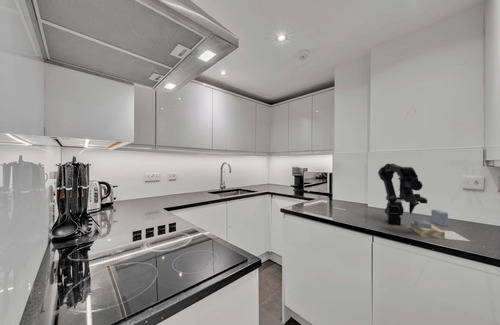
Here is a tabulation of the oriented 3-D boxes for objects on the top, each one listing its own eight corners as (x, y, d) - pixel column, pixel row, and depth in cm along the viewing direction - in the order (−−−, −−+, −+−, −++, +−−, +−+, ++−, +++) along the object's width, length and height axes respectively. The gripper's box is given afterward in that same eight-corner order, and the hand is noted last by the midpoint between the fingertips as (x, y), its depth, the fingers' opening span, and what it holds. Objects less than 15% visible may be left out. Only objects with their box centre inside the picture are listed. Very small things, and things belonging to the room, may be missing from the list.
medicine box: (448, 226, 122) (448, 212, 122) (440, 225, 123) (440, 212, 123) (438, 222, 130) (438, 209, 130) (431, 221, 131) (431, 209, 131)
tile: (418, 227, 111) (418, 223, 110) (413, 223, 116) (413, 219, 116) (431, 228, 108) (431, 224, 108) (425, 224, 114) (425, 220, 114)
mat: (445, 239, 103) (445, 238, 103) (431, 230, 116) (431, 229, 116) (470, 241, 100) (470, 241, 100) (453, 232, 113) (453, 231, 113)
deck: (421, 236, 107) (421, 229, 107) (410, 228, 120) (410, 221, 120) (444, 239, 103) (444, 231, 103) (430, 229, 116) (430, 223, 116)
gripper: (391, 189, 110) (392, 215, 111) (432, 190, 104) (432, 218, 104) (385, 186, 121) (385, 210, 121) (422, 187, 114) (422, 213, 115)
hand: (405, 213), depth 115 cm, fingers open, 4 cm apart
